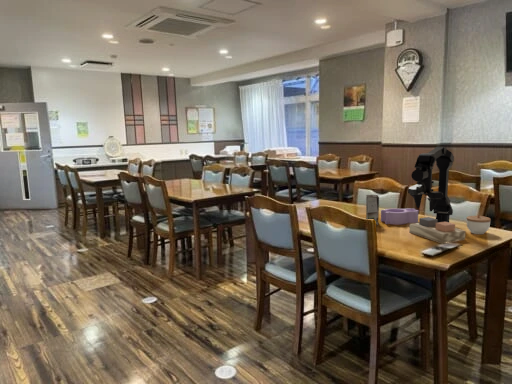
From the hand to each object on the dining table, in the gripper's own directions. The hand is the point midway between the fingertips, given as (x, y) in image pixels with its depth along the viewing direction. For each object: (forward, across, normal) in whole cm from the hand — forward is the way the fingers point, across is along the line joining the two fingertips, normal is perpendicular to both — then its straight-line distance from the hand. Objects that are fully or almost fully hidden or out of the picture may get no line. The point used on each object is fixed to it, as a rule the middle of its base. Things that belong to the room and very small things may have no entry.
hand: (424, 209), depth 195 cm
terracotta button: (+9, +10, +4) cm, 14 cm away
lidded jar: (+13, +7, +27) cm, 31 cm away
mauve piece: (+14, -28, +7) cm, 32 cm away
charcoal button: (+9, -1, +4) cm, 10 cm away
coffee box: (+13, -31, -9) cm, 35 cm away
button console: (+13, +4, +4) cm, 14 cm away
